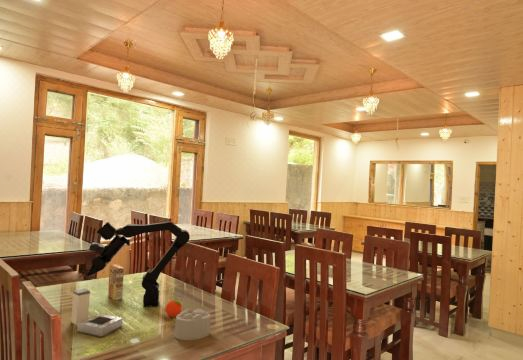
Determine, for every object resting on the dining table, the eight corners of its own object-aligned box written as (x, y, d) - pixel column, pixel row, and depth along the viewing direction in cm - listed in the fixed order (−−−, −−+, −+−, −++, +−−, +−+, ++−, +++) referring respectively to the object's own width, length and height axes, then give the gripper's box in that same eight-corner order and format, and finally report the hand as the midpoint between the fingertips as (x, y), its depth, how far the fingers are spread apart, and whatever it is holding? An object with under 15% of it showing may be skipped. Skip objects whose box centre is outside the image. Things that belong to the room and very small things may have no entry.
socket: (99, 322, 142) (99, 313, 142) (121, 326, 139) (122, 318, 139) (77, 332, 132) (78, 323, 132) (101, 337, 129) (102, 328, 129)
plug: (82, 319, 145) (84, 288, 145) (87, 322, 142) (89, 291, 142) (71, 322, 141) (73, 290, 142) (76, 325, 138) (78, 293, 139)
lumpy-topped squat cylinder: (212, 335, 137) (214, 312, 137) (182, 343, 128) (183, 319, 128) (198, 326, 144) (200, 304, 145) (169, 333, 136) (170, 310, 136)
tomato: (186, 315, 155) (187, 299, 155) (178, 321, 149) (179, 304, 149) (170, 312, 157) (171, 296, 158) (161, 318, 151) (162, 301, 151)
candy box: (122, 299, 172) (124, 267, 173) (114, 300, 169) (116, 268, 170) (115, 294, 179) (117, 264, 179) (107, 295, 176) (109, 264, 176)
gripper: (104, 233, 171) (80, 258, 169) (95, 238, 153) (69, 267, 151) (122, 247, 173) (99, 272, 171) (116, 255, 155) (90, 283, 152)
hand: (89, 273), depth 161 cm, fingers open, 9 cm apart
